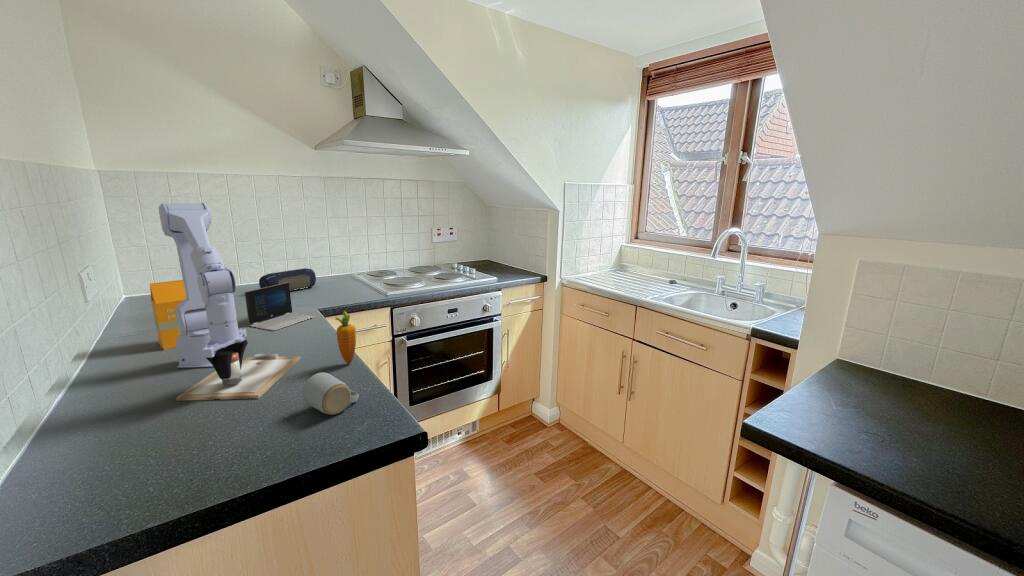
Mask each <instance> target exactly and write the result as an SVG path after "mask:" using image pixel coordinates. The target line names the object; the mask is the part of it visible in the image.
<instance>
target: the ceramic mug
mask: <svg viewBox="0 0 1024 576" xmlns="http://www.w3.org/2000/svg"><path fill="white" fill-rule="evenodd" d="M359 398H360V394H359V393H358V392H357V391H354V390H352V389H350V387H349V385H348V384H346V383H345V382H343V381H342V380H341V379H339V378H337V377H336V376H333V375H332V374H330V373H328V372H318V373H315V374H313V375H312V376H311V377H309V378H308V379H307V381H306V382H305V383H304V386H303V388H302V399H303V400H304V402H305V403H306V404H307V405H308V406H310V407H312V408H314V409H316V410H318V411H319V412H321V413H323V414H326V415H329V416H333V415H339V414H340V413H342V412H343V411H344V410H345V409H346V408H347V407H348V405H349V403H356V402H358V401H359Z"/></svg>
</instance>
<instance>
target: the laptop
mask: <svg viewBox="0 0 1024 576" xmlns="http://www.w3.org/2000/svg"><path fill="white" fill-rule="evenodd" d="M244 299H245V305H246V306H245V307H246V313H247V321H248V326H249V327H250V326H252V327H256V328H255V329H258V328H261V329H260V330H265V331H271V332H272V331H274V332H275V330H276V331H278V329H279V330H281V328H282V329H285V328H287V326H288V327H290V325H291V326H293V324H294V325H296V324H295V323H297V324H299V323H298V322H300V323H302V322H301V321H303V322H305V321H304V320H306V321H308V320H307V319H309V320H311V319H310V318H312V319H315V318H316V316H314V315H308V314H303V313H301V314H302V315H298V314H299V313H297V312H293V307H292V297H291V292H290V288H289V282H287V283H283V284H278V285H274V286H269V287H265V288H260V287H259V288H257V289H252V290H248V291H245V292H244ZM290 313H293V315H292V316H290V315H289V314H290ZM294 313H296V315H295V314H294ZM287 314H288V315H289V316H288V315H287ZM297 315H298V316H297ZM304 315H305V316H304ZM283 317H284V318H283ZM286 318H287V319H286ZM292 318H293V319H292ZM295 318H296V319H295ZM274 320H275V321H274ZM283 320H284V321H283ZM252 327H251V328H252ZM284 327H285V328H284Z"/></svg>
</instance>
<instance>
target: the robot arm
mask: <svg viewBox="0 0 1024 576" xmlns="http://www.w3.org/2000/svg"><path fill="white" fill-rule="evenodd" d="M158 213H159V214H158V215H159V220H160V224H161V229H162V232H163V234H164V236H166V237H170V238H172V239H173V241H174V243H175V245H176V250H177V256H178V261H179V266H180V267H179V268H180V272H181V277H182V280H183V283H184V288H185V293H186V298H185V299H184V300H183V301H182V302H181V303H179V304H178V305H177V306H176V309H175V310H176V322H177V326H178V329H179V332H180V333H181V334H180V335H179V336H178V337H177V340H176V348H175V349H176V354H177V359H178V365H177V368H179V369H181V368H184V369H185V368H210V367H211V368H214V370H215V371H216V372H217V374H218V376H219V378H220V379H229V378H230V377H231V358H232V355H233V352H238V355H239V363H240V370H241V366H242V359H243V357H244V353H245V350H246V348H247V346H248V340H246V337H247V336H248V335H247V334H248V333H247V329H246V328H239V325H238V317H237V312H236V311H237V310H236V303H235V295H234V294H235V293H236V289H237V284H236V279H235V276H234V273H233V270H232V269H231V268H229V266H228V265H225V263H224V260H223V259H222V256H221V254H220V252H219V250H218V248H217V247H215V246H213V245H211V243H210V239H209V235H208V233H207V232H208V230H209V229H210V226H211V224H212V214H211V210H210V207H209V206H208V204H206V202H201V203H199V202H198V203H197V202H196V203H164V202H162V203H160V205H159V206H158ZM190 309H193V310H190ZM187 310H188V311H187Z"/></svg>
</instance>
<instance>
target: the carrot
mask: <svg viewBox="0 0 1024 576" xmlns="http://www.w3.org/2000/svg"><path fill="white" fill-rule="evenodd" d="M342 315H343V316H342V317H341V318H342V319H341V318H340V317H337V316H336V317H335V320H337V321H338V322H339V323H340V324H341V325H339V326H338V327H337V329H336V337H337V338H336V339H337V345H338V348H339V352H340V354H341V357H342V359H343V360H344V362H345V363H346V364H348V365H350V364H351V363H352V361H353V359H354V356H355V351H356V347H357V334H356V333H357V332H356V326H355V325H354V324H353V325H352V324H350V318H351V314H349V313H348V312H347V311H343V312H342Z"/></svg>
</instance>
